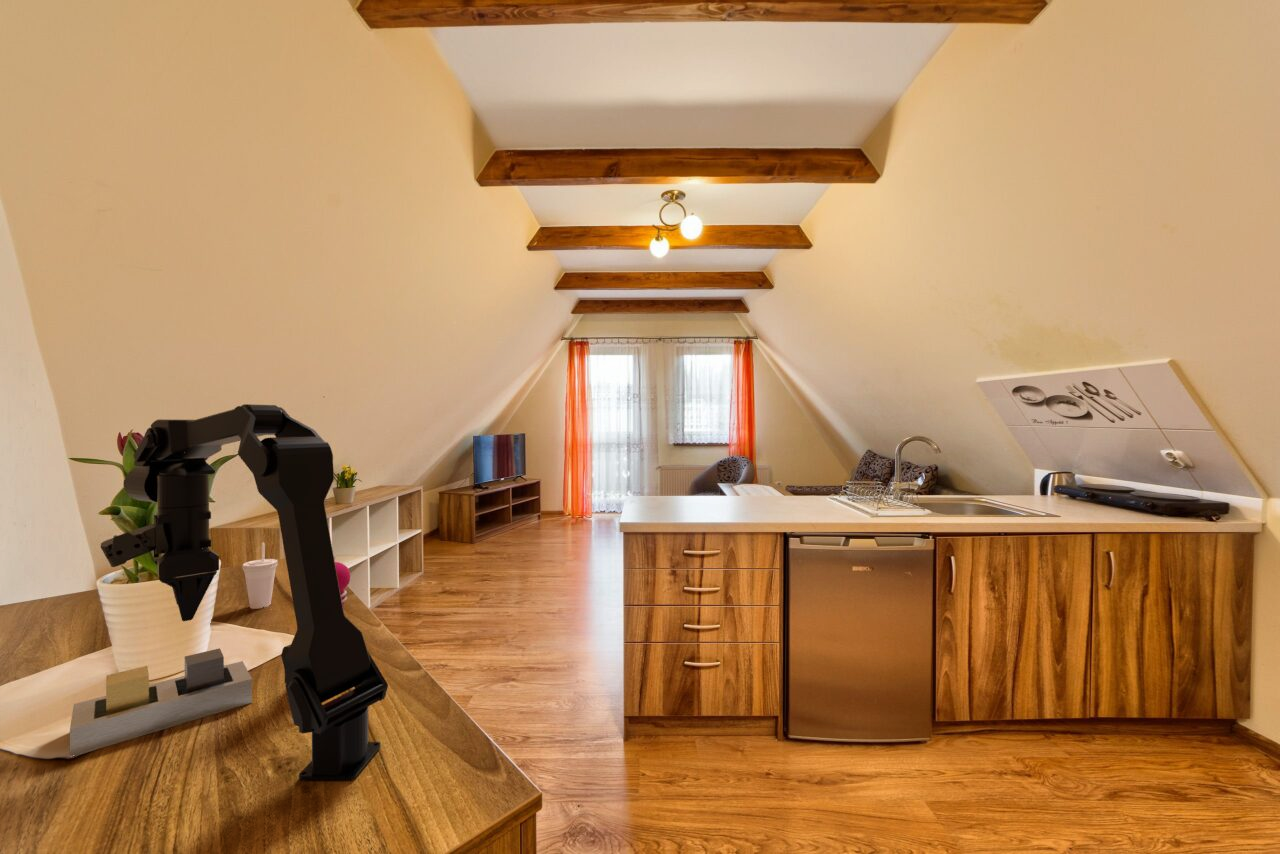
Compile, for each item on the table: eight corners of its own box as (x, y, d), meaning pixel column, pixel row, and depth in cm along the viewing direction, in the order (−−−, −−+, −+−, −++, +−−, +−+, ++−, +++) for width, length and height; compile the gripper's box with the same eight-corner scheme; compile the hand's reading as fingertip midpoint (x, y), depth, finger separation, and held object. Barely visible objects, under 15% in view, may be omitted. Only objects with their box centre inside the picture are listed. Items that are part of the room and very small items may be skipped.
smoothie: (283, 604, 119) (283, 542, 118) (250, 613, 113) (250, 547, 113) (269, 599, 122) (269, 538, 122) (237, 607, 117) (236, 543, 116)
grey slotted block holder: (242, 683, 83) (242, 638, 83) (251, 702, 77) (251, 654, 77) (73, 730, 70) (73, 677, 70) (70, 757, 64) (69, 700, 64)
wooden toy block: (148, 727, 71) (148, 675, 71) (106, 740, 68) (106, 685, 68) (147, 715, 74) (147, 665, 73) (106, 727, 71) (106, 675, 71)
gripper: (106, 504, 78) (107, 609, 78) (103, 521, 65) (104, 647, 65) (203, 496, 86) (204, 592, 86) (219, 510, 73) (219, 623, 73)
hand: (184, 612), depth 77 cm, fingers open, 9 cm apart
